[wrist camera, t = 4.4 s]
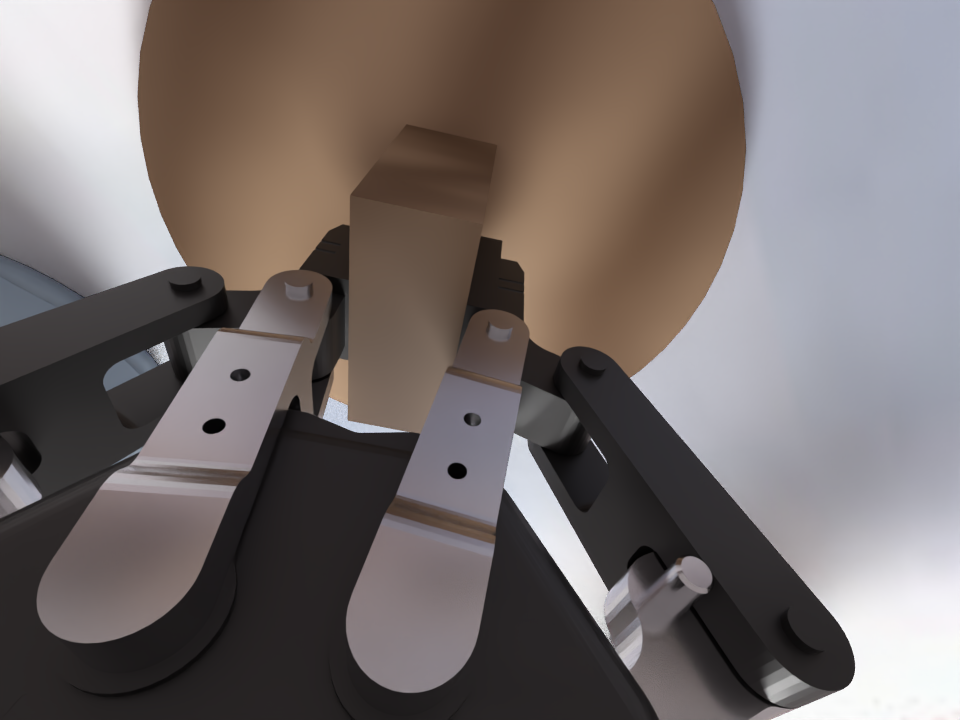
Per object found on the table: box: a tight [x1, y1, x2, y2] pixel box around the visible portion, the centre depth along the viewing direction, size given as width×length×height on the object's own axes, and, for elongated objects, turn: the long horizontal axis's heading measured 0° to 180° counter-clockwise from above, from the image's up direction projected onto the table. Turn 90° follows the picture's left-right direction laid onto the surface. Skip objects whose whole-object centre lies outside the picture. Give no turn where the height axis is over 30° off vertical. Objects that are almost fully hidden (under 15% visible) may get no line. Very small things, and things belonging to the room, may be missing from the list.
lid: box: [138, 0, 746, 434], centre depth 12 cm, size 17×17×6 cm
